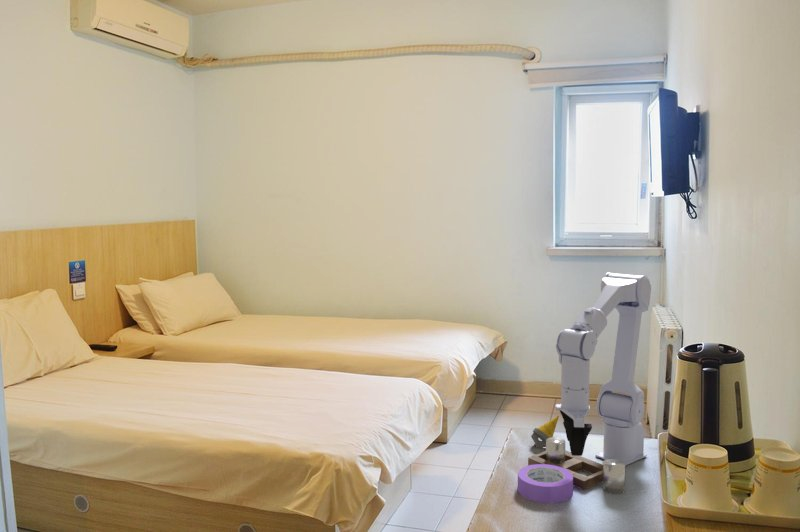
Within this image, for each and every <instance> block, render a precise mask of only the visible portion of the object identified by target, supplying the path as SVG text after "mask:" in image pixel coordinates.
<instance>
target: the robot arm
mask: <svg viewBox="0 0 800 532" xmlns="http://www.w3.org/2000/svg"><path fill="white" fill-rule="evenodd" d="M651 295H652V285H651V281H650V279H649V278H648V276H647V275H645V274H644V275H642V274H641V275H639V274H636V275H635V274H626V273H625V274H624V273H614V272H611V271H608V272H606V273H605V274H604V276H603V277H602V279H601V283H600V293H599V295H598V297H597V299H596V301H595V302H594V304H593V305H592V307H587V308H585V309H583V311H582V312H581V314H580V315H579V316H578V317H577V319H576V320H575V321H574V322H573V324H572V325H571V326H570V328H565V329H563V330H561V331H560V332H559V334H558V336H557V338H556V343H555V344H556V345H555V348H556V349H555V350H556V353H557V355H558V363H559V364H560V365H561V371H560V372H561V373H560V374H561V383H560V384H561V389H560V390H561V392H560V394H561V395H560V399H561V400H560V403H559V404H558V403H556V404H555V405H554V406H555V410H556V411H559V412H560V415H561V417H562V419H563V423H562V425H563V427H564V429H565V435H566V440H567V442H568V443H569V444H568V445H569V450H570V452H571V454H572V455H573V456H582V457H583V454H584V449H585V445H586V441H587V438H588V436H589V434H590V432H591V431H592V428H593V426H592V423H585V419H586V417H588V414H589V413H590V411H591V406H590V371H591V370H590V366H591V365H590V364H591V363H590V362H591V360H590V359H591V358H593V356H594V353H595V350H596V346H597V344H598V338H599V336H601V334H602V332H603V331H604V330H605V328H606V327H607V325H608V319H607V317H608V316H609V315H610V313H612V312H613V310H614V309H616V310H617V312H618V314H619V315H618V325H617V331H616V332H617V333H616V340H615V348H614V349H615V350H614V358H613V366H612V375H611V379H610V380H608V381H606V382H605V383H603V384H602V385H601V386H600V389H599V393H598V396H597V399H596V403H595V406H596V407H595V409H596V412H597V414H598V416H600V417H601V418H600V419H601V422H603V450H602V451H600V452H598V453H595V457H597V458H599V459H602V460H603V461H605V460H607V459H616V460H620V461H623V462H624V463H625V467H627V466H628V465H631V464H632V463H635V462H637V461H640V460H642V459H643V458H644V459H645V458H646V457H647V453H644V452H645V451H644V450H645V449H644V448H645V447H644V445H645V444H644V443H645V430H644V429H645V428H644V426H643V423H642V422H641V421H642V420H643V418H644V415H645V410H646V409H645V407H646V406H645V393H644V391H643V390H642V388H640V387H639V386H638V385H637V384H636V383H635V382H634V379H635V372H636V371H635V370H636V364H637V355H638V348H639V341H640V339H639V338H640V333H641V331H640V330H641V323H642V322H641V321H642V318H643V317H642V315H643V313H645V312H647V311H649V307H650V304H651V303H650V300H651Z"/></svg>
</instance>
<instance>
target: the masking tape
mask: <svg viewBox="0 0 800 532" xmlns="http://www.w3.org/2000/svg"><path fill="white" fill-rule="evenodd" d="M517 491H518V494H519V495H520V496H521V497H523V498H525V499H526V500H529V501H531V502H536V503H540V504H558V503H563V502H565V501H568V500H569V499H571V498H572V497H573V496H574V485H573V475H572V473H571V472H569V471H568V470H566V469H564V468H562V467H558V466H554V465H548V464H535V465H529V466H528V465H526V466H523V467H522V468H520V469H518V472H517Z"/></svg>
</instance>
